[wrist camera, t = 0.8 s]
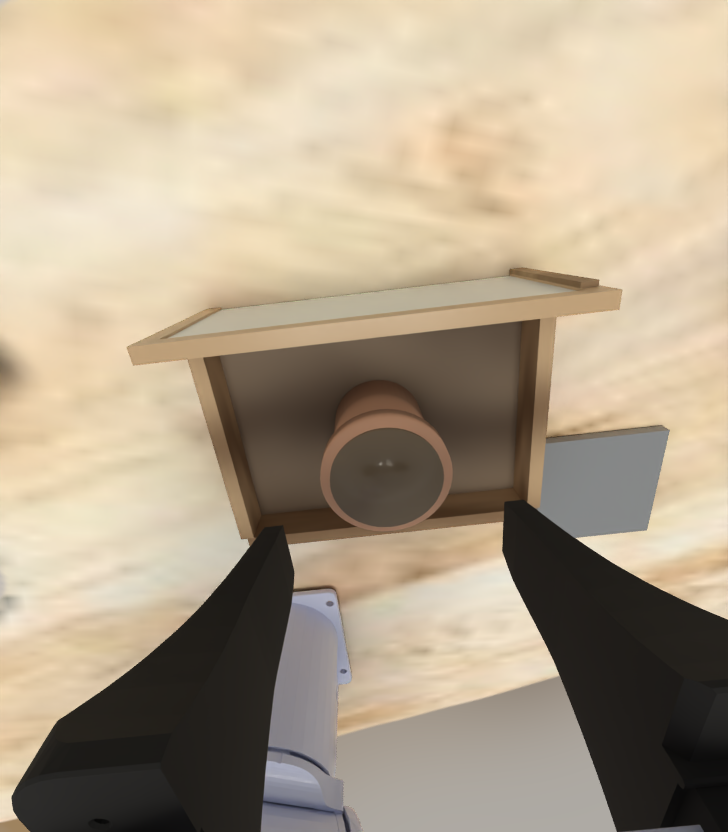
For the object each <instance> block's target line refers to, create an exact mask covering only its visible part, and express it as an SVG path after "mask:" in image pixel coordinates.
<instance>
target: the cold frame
mask: <svg viewBox="0 0 728 832" xmlns="http://www.w3.org/2000/svg"><path fill="white" fill-rule="evenodd" d="M510 274H514V275H519V276H524V277H529V278H533V279H538V280H543V281H548V282H552V283H557V284H562V285H567V286H572V287H576V288H587V287H596V286H599V280H597V279H591V278H584V277H578V276H572V275H565V274H559V273H553V272H547V271H540V270H534V269H528V268H516V269H510ZM555 328H556V317H551V318H542V319H533V320H525V321H516V322H507V323H498V324H490V325H481V326H472V327H464V328H455V329H446V330H438V331H429V332H420V333H412V334H403V335H394V336H385V337H377V338H368V339H359V340H351V341H342V342H333V343H325V344H316V345H307V346H299V347H290V348H281V349H272V350H264V351H255V352H246V353H238V354H229V355H220V356H212V357H203V358H194V359H188V363H189V366H190V369H191V373H192V376H193V379H194V383H195V386H196V389H197V393H198V396H199V399H200V403H201V406H202V410H203V413H204V416H205V420H206V423H207V426H208V430H209V433H210V436H211V440H212V443H213V446H214V450H215V453H216V456H217V460H218V463H219V466H220V470H221V473H222V476H223V480H224V483H225V487H226V490H227V493H228V497H229V500H230V503H231V507H232V510H233V513H234V517H235V520H236V523H237V527H238V530H239V533H240V537H241V539H248V542H249V545H250V546H251V545H252V543H253V542H254V540H255V539H256V538H257V536H258V535H259V534H260V532H261V531H262V530H263V529H264V527H272V526H281V525H283V527H284V531H285V535H286V539H287V544H297V543H306V542H316V541H325V540H334V539H344V538H353V537H363V536H372V535H382V534H391V533H401V532H410V531H419V530H429V529H438V528H448V527H457V526H467V525H476V524H485V523H495V522H504V502H506V501H515V500H525V501H526V502H527V503H529V504H530V505H531V506H533V507H534V508H539V507H540V501H541V489H542V478H543V466H544V455H545V443H546V432H547V420H548V409H549V397H550V386H551V374H552V363H553V351H554V340H555ZM373 380H386V381H391V382H394V383H397V384H399V385H401V386H403V387H404V388H406V389H407V390H408V391H409V392H410V393H411V394H412V395H413V396H414V398H415V399H416V401H417V403H418V405H419V408H420V410H421V413H422V415H423V418H424V420H425V421H427V422H428V423H429V424H430V425H432V426H433V427H434V428H435V430H436V431H437V432H438V433H439V435H440V436H441V438H442V440H443V442H444V444H445V446H446V448H447V451H448V453H449V455H450V458H451V462H452V468H453V477H452V483H451V487H450V490H449V493H448V495H447V497H446V498H445V500H444V502H443V503H442V504H441V506H440V507H439V508H438V509H437V510H436V511H435V512H434V513H433V514H432V515H431V516H429V517H428V518H426V519H425V520H423V521H422V522H420V523H418V524H416V525H414V526H411V527H408V528H405V529H401V530H396V531H385V532H383V531H372V530H366V529H363V528H359V527H357V526H354V525H352V524H350V523H348V522H347V521H345V520H344V519H342V518H341V517H340V516H338V515H337V514H336V513H335V512H334V511H333V510H332V508H331V507H330V506H329V504H328V503H327V501H326V499H325V497H324V495H323V492H322V488H321V483H320V471H321V463H322V457H323V452H324V450H325V447H326V445H327V443H328V441H329V439H330V438H331V436H332V435H333V433H334V428H335V418H336V411H337V408H338V405H339V403H340V402H341V400H342V398H343V397H344V396H345V395H346V394H347V393H348V392H349V391H350V390H351V389H352V388H354V387H356V386H357V385H359V384H362V383H364V382H368V381H373Z"/></svg>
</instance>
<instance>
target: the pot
mask: <svg viewBox="0 0 728 832" xmlns="http://www.w3.org/2000/svg"><path fill="white" fill-rule="evenodd" d="M452 477H453V468H452V462H451V458H450V455H449V453H448V451H447V448H446V446H445V444H444V442H443V440H442V438H441V436H440V435H439V433H438V432H437V431H436V430H435V428H434V427H433V426H432V425H430V424H429V423H428V422H427V421H425V420H424V418H423V415H422V413H421V410H420V408H419V405H418V403H417V401H416V399H415V398H414V396H413V395H412V394H411V393H410V392H409V391H408V390H407V389H406V388H404V387H403V386H401V385H399V384H397V383H394V382H391V381H386V380H373V381H368V382H364V383H362V384H359V385H357V386H356V387H354V388H352V389H351V390H350V391H349V392H348V393H347V394H346V395H345V396H344V397H343V398H342V400H341V402H340V403H339V405H338V408H337V411H336V418H335V428H334V433H333V435H332V436H331V438H330V439H329V441H328V443H327V445H326V447H325V450H324V452H323V457H322V463H321V471H320V483H321V488H322V492H323V495H324V497H325V499H326V501H327V503H328V504H329V506H330V507H331V508H332V510H333V511H334V512H335V513H336V514H337V515H338V516H340V517H341V518H342V519H344V520H345V521H347V522H348V523H350V524H352V525H354V526H357V527H359V528H363V529H366V530H372V531H383V532H385V531H396V530H401V529H405V528H408V527H411V526H414V525H416V524H418V523H420V522H422V521H423V520H425V519H426V518H428V517H429V516H431V515H432V514H433V513H434V512H435V511H436V510H437V509H438V508H439V507H440V506H441V504H442V503H443V502H444V500H445V498H446V497H447V495H448V493H449V490H450V487H451V483H452Z"/></svg>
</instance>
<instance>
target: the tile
mask: <svg viewBox="0 0 728 832" xmlns="http://www.w3.org/2000/svg"><path fill="white" fill-rule="evenodd" d="M669 431H670V430H668V429H667V428H665V427H663V426H654V427H644V428H635V429H626V430H617V431H608V432H599V433H590V434H581V435H571V436H562V437H553V438H546V443H545V455H544V466H543V478H542V489H541V501H540V507H539V508H535V509H537V510H538V511H539V512H540V513H542V514H543V515H544V516H546V517H547V518H548V519H550V520H551V521H552V522H554V523H555V524H556V525H558V526H559V527H560V528H562V529H563V530H564V531H566V532H567V533H568V534H570V535H571V536H573V537H574V538H577V537H587V536H596V535H606V534H615V533H625V532H634V531H644V530H647V528H648V523H649V519H650V514H651V510H652V506H653V501H654V497H655V492H656V488H657V484H658V479H659V475H660V470H661V466H662V462H663V457H664V453H665V448H666V444H667V440H668V435H669Z"/></svg>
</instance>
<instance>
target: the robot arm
mask: <svg viewBox="0 0 728 832" xmlns="http://www.w3.org/2000/svg"><path fill="white" fill-rule="evenodd" d="M502 551H503V554H504V557H505V560H506V563H507V565H508V568H509V571H510V573H511V576H512V579H513V581H514V583H515V585H516V587H517V589H518V591H519V593H520V595H521V597H522V599H523V601H524V603H525V605H526V607H527V609H528V611H529V613H530V615H531V617H532V618H533V620H534V622H535V624H536V626H537V628H538V630H539V632H540V634H541V636H542V638H543V640H544V642H545V644H546V646H547V648H548V650H549V652H550V654H551V656H552V658H553V660H554V663H555V665H556V667H557V670H558V672H559V675H560V677H561V680H562V682H563V685H564V687H565V689H566V692H567V695H568V697H569V700H570V702H571V705H572V707H573V710H574V712H575V715H576V718H577V721H578V723H579V726H580V728H581V731H582V733H583V736H584V739H585V741H586V744H587V747H588V750H589V752H590V756H591V758H592V761H593V764H594V767H595V769H596V772H597V775H598V778H599V780H600V783H601V786H602V789H603V792H604V795H605V798H606V801H607V804H608V807H609V809H610V812H611V815H612V818H613V821H614V824H615V827H616V830H617V832H728V620H727V619H725V618H722V617H720V616H717V615H715V614H713V613H710V612H708V611H706V610H703V609H701V608H699V607H696V606H694V605H692V604H690V603H688V602H685V601H683V600H681V599H679V598H677V597H675V596H673V595H671V594H669V593H667V592H665V591H663V590H661V589H659V588H657V587H655V586H653V585H651V584H649V583H647V582H645V581H643V580H641V579H640V578H638V577H636V576H634V575H633V574H631V573H629V572H627V571H625V570H624V569H622V568H620V567H618V566H617V565H615V564H613V563H612V562H610V561H609V560H607V559H605V558H604V557H602V556H601V555H599V554H598V553H596V552H595V551H593V550H592V549H590V548H589V547H587V546H586V545H584V544H583V543H581V542H580V541H578V540H577V539H575V538H574V537H573V536H571V535H570V534H568V533H567V532H566V531H564V530H563V529H562V528H560V527H559V526H558V525H556V524H555V523H554V522H552V521H551V520H550V519H548V518H547V517H546V516H544V515H543V514H542V513H540V512H539V511H538V510H537V509H535V508H534V507H533V506H531V505H530V504H529V503H527V502H526V501H525V500H515V501H506V502H504V523H503V547H502ZM293 585H294V569H293V564H292V560H291V556H290V552H289V548H288V544H287V539H286V535H285V531H284V527H283V525H281V526H272V527H264V529H263V530H262V531H261V532H260V534H259V535H258V536H257V538H256V539H255V540H254V542H253V543H252V545H251V546H250V547H249V549H248V550H247V551H246V553H245V554H244V555H243V557H242V558H241V559H240V561H239V562H238V563H237V564H236V566H235V567H234V568H233V569H232V571H231V572H230V573H229V574H228V576H227V577H226V578H225V579H224V581H223V582H222V583H221V584H220V585H219V586H218V588H217V589H216V590H215V591H214V592H213V593H212V595H211V596H210V597H209V598H208V599H207V600H206V601H205V602H204V604H203V605H202V606H201V607H200V608H199V609H198V610H197V611H196V612H195V613H194V614H193V615H192V616H191V617H190V618H189V619H188V620H187V621H186V622H185V623H184V624H183V625H182V626H181V627H180V628H179V629H178V630H177V631H176V632H174V633H173V634H172V635H171V636H170V637H169V638H168V639H166V640H165V641H164V642H163V643H162V644H161V645H160V646H158V647H157V648H156V649H155V650H154V651H153V652H152V653H150V654H149V655H148V656H147V657H146V658H144V659H143V660H142V661H141V662H139V663H138V664H137V665H136V666H134V667H133V668H132V669H131V670H129V671H128V672H127V673H125V674H124V675H123V676H121V677H120V678H119V679H117V680H116V681H115V682H114V683H112V684H111V685H109V686H108V687H107V688H105V689H104V690H103V691H101V692H100V693H98V694H97V695H95V696H94V697H92V698H91V699H89V700H88V701H86V702H85V703H83V704H82V705H81V706H79V707H78V708H76V709H75V710H73V711H72V712H70V713H69V714H67V715H66V716H64V717H63V718H61V719H60V720H58V721H57V723H56V724H55V726H54V727H53V729H52V730H51V732H50V733H49V735H48V736H47V738H46V740H45V741H44V743H43V744H42V746H41V748H40V749H39V751H38V753H37V754H36V756H35V758H34V759H33V761H32V762H31V764H30V766H29V767H28V769H27V771H26V772H25V774H24V776H23V777H22V779H21V781H20V782H19V784H18V785H17V787H16V789H15V791H14V793H13V795H12V806H13V811H14V813H15V814H16V816H17V817H18V819H19V820H20V821H21V822H22V823H23V824H24V825H25V826H26V828H27V829H28V830H29V831H30V832H364V831H363V829H362V826H361V824H360V821H359V818H358V816H357V814H356V812H355V811H354V810H353V809H352V808H351V807H348V806H343V780H341V779H337V778H335V773H336V749H337V717H338V685H339V684H347V683H349V682H351V680H352V674H351V668H350V663H349V658H348V652H347V647H346V642H345V637H344V631H343V626H342V621H341V615H340V610H339V605H338V599H337V594H336V591H334V590H333V589H320V590H310V591H300V592H293ZM329 601H331V602H329Z"/></svg>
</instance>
